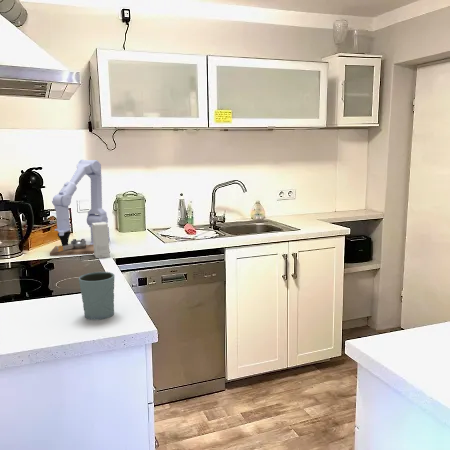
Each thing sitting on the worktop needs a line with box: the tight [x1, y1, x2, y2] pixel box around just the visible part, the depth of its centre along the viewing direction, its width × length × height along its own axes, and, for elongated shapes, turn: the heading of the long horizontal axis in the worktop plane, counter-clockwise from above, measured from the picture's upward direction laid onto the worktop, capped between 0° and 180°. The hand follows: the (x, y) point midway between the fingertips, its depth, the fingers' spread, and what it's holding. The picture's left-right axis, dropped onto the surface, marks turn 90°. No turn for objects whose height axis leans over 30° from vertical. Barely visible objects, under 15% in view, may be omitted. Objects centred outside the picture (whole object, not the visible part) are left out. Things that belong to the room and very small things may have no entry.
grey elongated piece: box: [55, 238, 87, 252], centre depth 219 cm, size 16×7×4 cm, turn 146°
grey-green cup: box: [78, 271, 116, 321], centre depth 136 cm, size 10×10×12 cm
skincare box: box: [92, 222, 111, 259], centre depth 210 cm, size 8×7×16 cm
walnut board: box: [49, 244, 94, 257], centre depth 222 cm, size 20×15×2 cm
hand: (65, 247), depth 218 cm, fingers closed, pressing on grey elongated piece
